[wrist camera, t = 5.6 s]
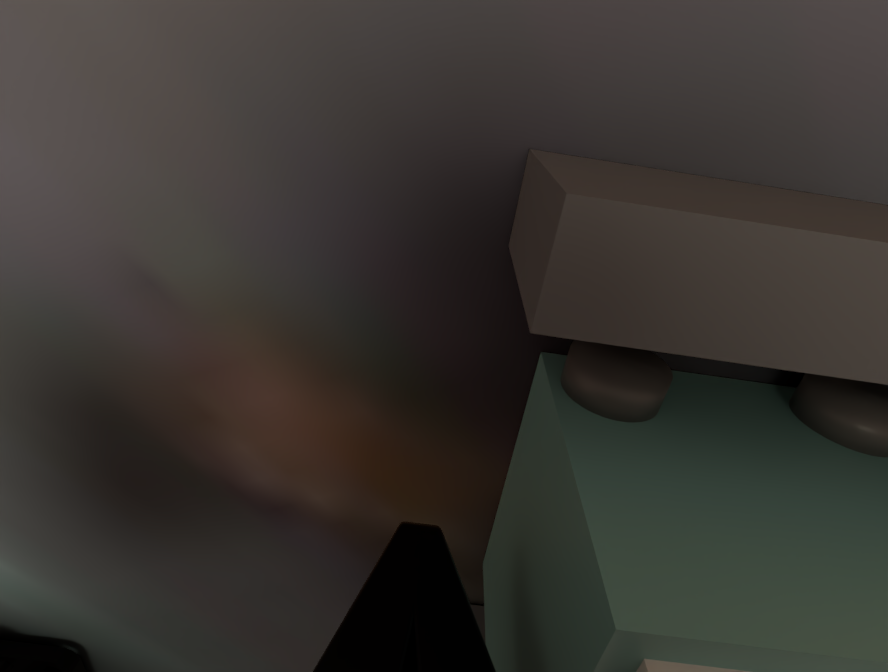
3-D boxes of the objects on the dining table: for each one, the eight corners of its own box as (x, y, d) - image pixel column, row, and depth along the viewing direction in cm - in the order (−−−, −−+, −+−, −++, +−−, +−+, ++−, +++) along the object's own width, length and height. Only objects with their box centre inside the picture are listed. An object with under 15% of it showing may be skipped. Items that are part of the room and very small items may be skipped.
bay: (728, 669, 13) (793, 816, 11) (425, 633, 13) (415, 774, 10) (1073, 234, 7) (1406, 323, 5) (529, 149, 7) (567, 193, 4)
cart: (713, 608, 12) (873, 951, 7) (478, 578, 12) (487, 911, 7) (876, 369, 9) (1366, 723, 4) (548, 322, 9) (653, 637, 4)
